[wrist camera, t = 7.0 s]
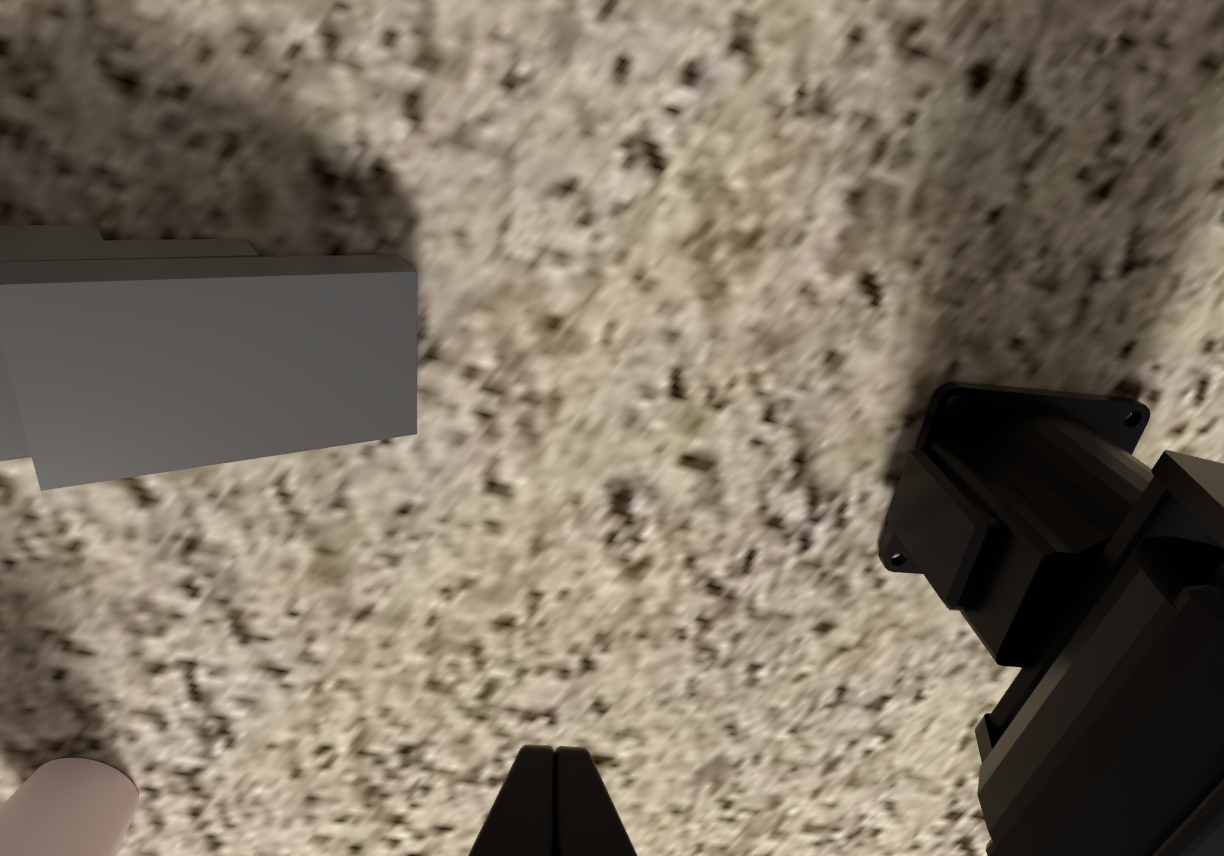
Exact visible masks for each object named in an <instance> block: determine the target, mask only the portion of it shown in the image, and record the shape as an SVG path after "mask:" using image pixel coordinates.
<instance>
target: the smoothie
mask: <svg viewBox="0 0 1224 856" xmlns="http://www.w3.org/2000/svg"><path fill="white" fill-rule="evenodd" d="M138 802H139V795H138V792H137V789H136V787H135V785H134V784H133V783H132V782H131V780H130V779H129V778H128V777H127V776H125V775H124V774H123V773H121V772H120V771H118V770H117V769H115V768H113V767H111V766H109V765H107V764H104V763H101V762H98V761H94V760H90V759H84V758H61V759H56V760H52V761H49V762H47V763H45V764H43V765H41V766H40V767H39V768H38V769H37V770H36V771H35V772H34V773H33V774H32V775H31V776H30V777H29V778H28V779H27V780H26V781H25V782H24V783H23V784H22V785H21V786H20V787H19V788H18V790H17V791H16V792H15V793H14V794H13V795H12V796H11V797H10V798H9V799H8V800H7V801H6V802H5V803H4V804H3V805H2V806H1V807H0V856H116V854H117V852H118V850H119V847H120V845H121V843H122V841H123V838H124V836H125V834H126V831H127V829H128V827H129V824H130V822H131V820H132V817H133V815H134V813H135V810H136V808H137V806H138Z"/></svg>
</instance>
